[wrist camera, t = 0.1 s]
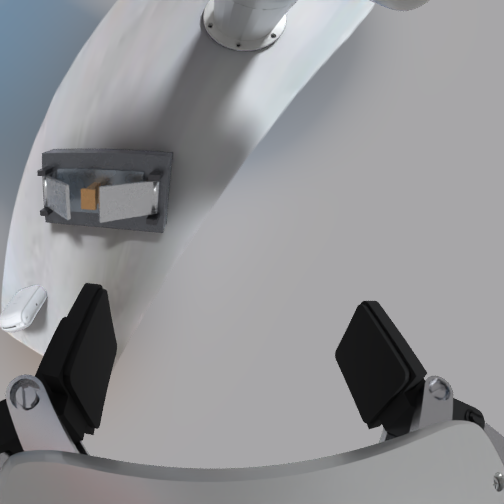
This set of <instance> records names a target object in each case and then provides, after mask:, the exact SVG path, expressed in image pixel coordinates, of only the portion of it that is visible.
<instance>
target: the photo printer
mask: <svg viewBox="0 0 504 504" xmlns="http://www.w3.org/2000/svg"><path fill="white" fill-rule="evenodd" d="M46 295H47V293H46V290H45V289H44V287H43V286H41V285H33V286H30V287H27V288H24V289H21V290H19V291H18V292H17V293H16V294H15V295H14V296H13V298H12V299H11V300H10V302H9V303H8V305H7V306H6V308H5V309H4V310H3V312H2V313H1V315H0V327H1V328H2V330H3V331H6V332H17V331H21V330H23V329H25V328H27V327H28V326H30V325H31V323H32V321H33V320H34V318H35V316H36V315H37V313H38V311H39V310H40V308H41V306H42V305H43V303H44V302H45V300H46V298H47V296H46Z"/></svg>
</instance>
